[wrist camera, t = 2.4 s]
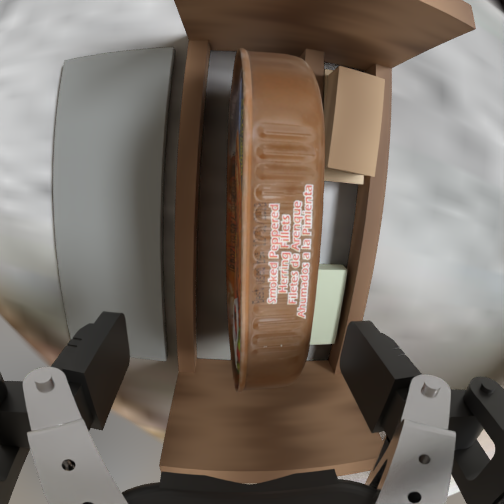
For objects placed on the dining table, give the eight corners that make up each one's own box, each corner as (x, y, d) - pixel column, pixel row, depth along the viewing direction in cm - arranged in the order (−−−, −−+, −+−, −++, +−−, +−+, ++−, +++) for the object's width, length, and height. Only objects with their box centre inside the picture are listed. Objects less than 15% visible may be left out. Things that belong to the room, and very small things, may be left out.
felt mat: (175, 50, 14) (173, 46, 14) (167, 356, 19) (165, 361, 19) (68, 62, 14) (64, 60, 13) (76, 343, 19) (72, 348, 18)
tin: (229, 79, 15) (227, 9, 7) (286, 81, 15) (331, 19, 7) (226, 331, 19) (224, 431, 11) (276, 331, 19) (300, 428, 11)
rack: (379, 57, 15) (470, 5, 6) (337, 372, 21) (381, 467, 12) (194, 32, 14) (166, -62, 5) (182, 371, 20) (162, 477, 11)
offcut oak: (370, 86, 14) (384, 79, 12) (359, 175, 15) (374, 176, 13) (328, 75, 14) (339, 65, 12) (317, 166, 15) (327, 167, 13)
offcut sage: (339, 262, 19) (347, 270, 17) (328, 332, 20) (334, 343, 19) (302, 261, 18) (307, 269, 17) (294, 333, 20) (298, 345, 19)
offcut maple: (353, 84, 16) (367, 77, 14) (349, 181, 17) (363, 184, 15) (315, 78, 15) (324, 69, 14) (310, 178, 17) (320, 180, 15)
